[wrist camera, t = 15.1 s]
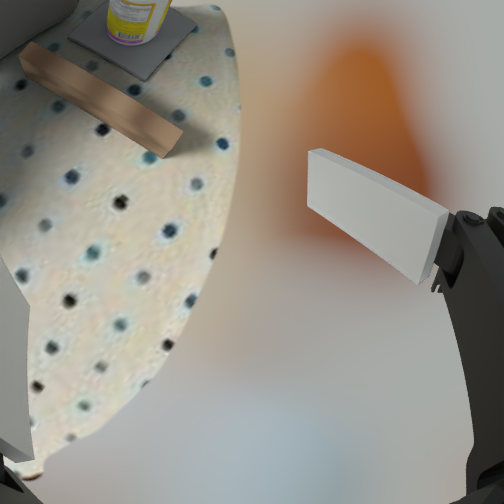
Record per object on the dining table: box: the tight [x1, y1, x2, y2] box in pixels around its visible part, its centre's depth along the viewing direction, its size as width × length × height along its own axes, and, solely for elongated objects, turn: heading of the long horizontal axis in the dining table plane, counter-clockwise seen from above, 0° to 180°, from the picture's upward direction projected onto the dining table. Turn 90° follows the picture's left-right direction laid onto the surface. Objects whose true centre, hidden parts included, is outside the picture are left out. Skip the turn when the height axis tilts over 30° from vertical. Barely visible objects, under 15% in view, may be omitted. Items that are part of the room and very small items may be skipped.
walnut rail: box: [18, 41, 184, 159], centre depth 25 cm, size 20×2×5 cm, turn 59°
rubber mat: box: [68, 0, 198, 82], centre depth 27 cm, size 12×11×1 cm
